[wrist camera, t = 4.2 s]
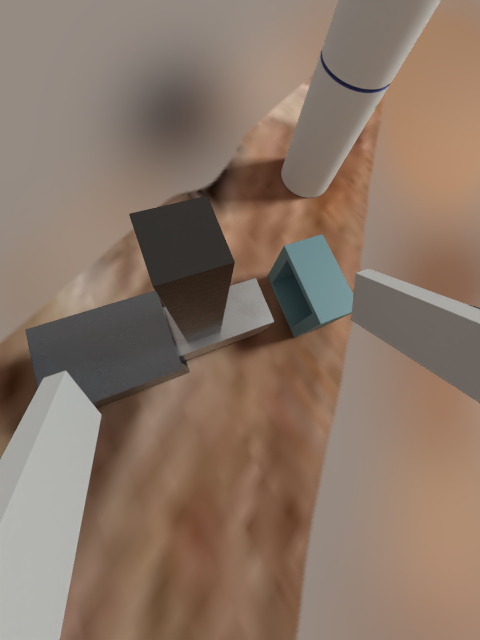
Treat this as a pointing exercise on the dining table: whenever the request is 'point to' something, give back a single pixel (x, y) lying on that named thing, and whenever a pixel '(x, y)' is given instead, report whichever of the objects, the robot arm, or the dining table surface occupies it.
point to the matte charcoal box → (109, 349)
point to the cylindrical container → (349, 85)
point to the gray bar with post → (197, 278)
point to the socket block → (310, 285)
